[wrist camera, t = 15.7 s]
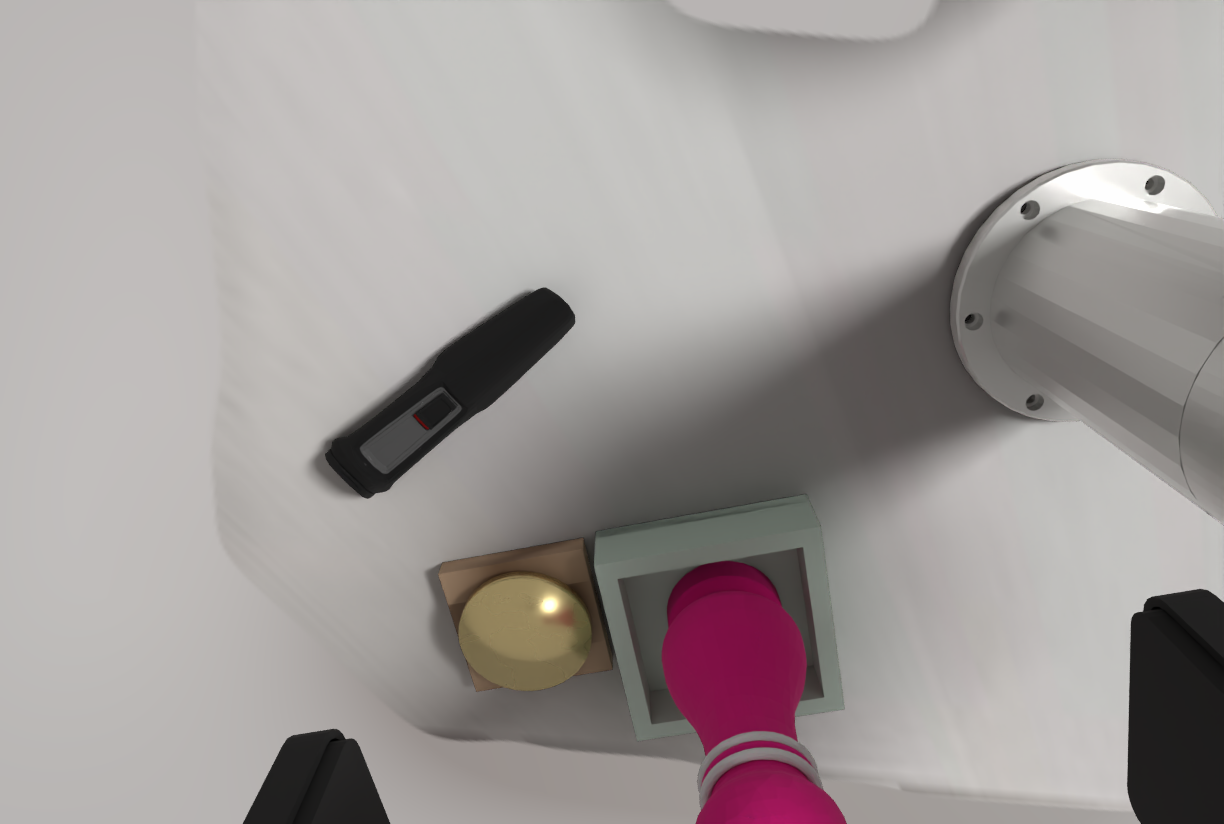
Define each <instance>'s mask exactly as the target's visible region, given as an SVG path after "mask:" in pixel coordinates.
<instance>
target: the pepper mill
mask: <svg viewBox="0 0 1224 824" xmlns="http://www.w3.org/2000/svg"><path fill="white" fill-rule="evenodd" d="M667 619H668V630H667V633H666V635H665V638H664V641H663V647H662V665H663V671H664V676H665V681H666V684H667V687H668V690H669V692H670V694H671V696H672V698H673V700H674V702H675V704H676V706H677V707H678V709H679V710H680V712H681V713H682V714H683V716H684V717H685V718H686V719H687V720H688V722H689V723H690V724H691V725H692V726H693V728H694V729H695V730H696V732H697V733H698V735H699V737H700V739H701V742H702V744H703V746H704V751H705V755H706V757H705V759H704V760H703V762H702V764H701V767H700V769H699V773H698V780H697V781H698V790H699V793H700V807H701V812H700V813H699V815H698V818H697V821H696V824H847V823H846V821H845V818H844V816H843V814H842V812H841V811H840V809H839V808H838V806H837V805H836V803H835V802H834V800H833V799H832V798H831V797H830V796H829V795H828V794H827V793H826V792H825V791H824V790H823V786H822V782H821V780H820V778H819V775H818V770H817V766H816V763H815V760H814V759H813V757H812V755H811V754H810V752H809V751H808V750H807V749H806V748H805V747H804V746H803V745H802V744H801V743H799V742H798V741H797V735H796V729H795V712H796V709H797V707H798V704H799V701H800V699H801V696H802V693H803V690H804V685H805V679H806V669H807V660H806V653H805V648H804V643H803V639H802V636H801V633H800V631H799V629H798V627H797V625H796V623H795V622H794V620H793V619H792V617H791V616H790V615H789V614H788V613H787V612H786V611H785V610H784V609H783V608H782V604H781V601H780V598H779V595H778V592H777V590H776V588H775V586H774V585H773V583H772V582H771V581H770V579H769V578H768V577H767V576H766V575H765V574H764V573H762V572H761V571H760V570H758V569H756V568H754V567H752V566H750V565H747V564H744V563H740V562H734V561H720V562H714V563H708V564H704V565H701V566H698V567H697V568H695V569H694V570H692V571H690V572H689V573H687V574H686V575H685V576H683V577H682V578H681V579H680V580H679V581H678V583H677V584H676V585H675V587H674V588H673V590H672V592H671V594H670V597H669V599H668V604H667Z"/></svg>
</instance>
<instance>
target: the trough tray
mask: <svg viewBox="0 0 1224 824" xmlns="http://www.w3.org/2000/svg"><path fill="white" fill-rule="evenodd" d="M720 561H734V562H740V563H744V564H747V565H750V566H752V567H754V568H756V569H758V570H760V571H761V572H762V573H764V574H765V575H766V576H767V577H768V578H769V579H770V581H771V582H772V583H773V585H774V586H775V588H776V590H777V592H778V595H779V598H780V601H781V604H782V608H783V609H784V610H785V611H786V612H787V613H788V614H789V615H790V616H791V617H792V619H793V620H794V622H795V623H796V625H797V627H798V629H799V631H800V633H801V636H802V639H803V643H804V648H805V653H806V660H807V669H806V679H805V685H804V690H803V693H802V696H801V699H800V701H799V704H798V707H797V709H796V712H795V717H798V716H804V715H811V714H817V713H824V712H830V711H837V710H843V709H845V707H844V699H843V692H842V684H841V676H840V669H839V661H838V653H837V646H836V638H835V630H834V623H833V615H832V607H831V600H830V592H829V584H828V577H827V569H826V561H825V554H824V546H823V538H822V531H821V525H820V523H819V521H818V519H817V517H816V514H815V512H814V510H813V508H812V506H811V503H810V501H809V499H808V497H807V495H806V494H805V495H799V496H794V497H788V498H782V499H777V500H771V501H765V502H760V503H754V504H748V505H743V506H737V507H731V508H726V509H720V510H714V511H709V512H703V513H697V514H692V515H686V516H680V517H675V518H669V519H663V520H658V521H652V522H646V523H641V524H635V525H629V526H624V527H618V528H612V529H607V530H601V531H596V536H595V555H594V568H595V572H596V576H597V580H598V584H599V588H600V592H601V597H602V601H603V605H604V609H605V613H606V617H607V621H608V625H609V629H610V633H611V637H612V641H613V645H614V649H615V653H616V657H617V662H618V666H619V670H620V674H621V678H622V682H623V686H624V690H625V694H626V698H627V702H628V706H629V710H630V714H631V718H632V722H633V726H634V731H635V735H636V739H637V741H643V740H650V739H656V738H663V737H669V736H676V735H682V734H688V733H695V732H696V730H695V729H694V728H693V726H692V725H691V724H690V723H689V722H688V720H687V719H686V718H685V717H684V716H683V714H682V713H681V712H680V710H679V709H678V707H677V706H676V704H675V702H674V700H673V698H672V696H671V694H670V692H669V690H668V687H667V684H666V681H665V676H664V671H663V665H662V647H663V641H664V638H665V635H666V633H667V630H668V619H667V604H668V599H669V597H670V594H671V592H672V590H673V588H674V587H675V585H676V584H677V583H678V581H679V580H680V579H681V578H682V577H683V576H685V575H686V574H687V573H689V572H690V571H692V570H694V569H695V568H697V567H698V566H701V565H704V564H708V563H714V562H720Z"/></svg>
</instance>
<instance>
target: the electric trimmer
mask: <svg viewBox="0 0 1224 824" xmlns="http://www.w3.org/2000/svg"><path fill="white" fill-rule="evenodd" d="M574 324H575V314H574V313H573V311H572V310H571V308H570V307H569V305H568V304H567V303H566V302H565V301H564V300H563V299H562V298H561V297H560V296H558V295H557V294H556V293H554V292H552V291H551V290H549V289H547V288H540V289H538V290H536V291H534V292H533V293H531V294H529V295H528V296H526V297H524V298H523V299H521V300H520V301H518V302H516V303H515V304H513V305H512V306H510V307H509V308H507V309H506V310H504V311H503V312H501V313H500V314H498V315H496V316H495V317H493V318H492V319H490V320H489V321H487V322H486V323H484V324H483V325H481V326H480V327H478V328H477V329H475V330H473V331H472V332H470V333H469V334H467V335H466V336H464V337H463V338H461V339H460V340H459V341H457V342H456V343H454V344H453V345H451V346H450V347H449V348H447V349H446V350H444V351H443V352H442V353H441V354H440V355H439V356H438V358H437V360H436V361H435V363H434V365H433V366H432V368H431V369H430V370H429V371H428V372H427V373H426V374H425V375H424V376H423V377H422V379H421V380H420V381H419V382H418V383H416V384H415V385H414V386H413V387H411V388H410V389H409V390H408V391H406V392H405V393H404V394H403V395H401V396H400V397H399V398H398V399H397V400H395V401H394V402H393V403H392V404H390V405H389V406H388V407H387V408H385V409H384V410H383V411H382V412H380V413H379V414H378V415H377V416H376V417H374V418H373V419H372V420H370V421H369V422H368V423H366V424H365V425H364V426H362V427H361V428H360V429H358V430H357V431H356V432H354V433H353V434H351V435H349V436H347V437H342V438H337V439H335V440H334V441H333V442H332V448H331V449H330V450H329V451H328V452H327V453H326V454H325V457H326V459H327V461H328V463H329V465H330V466H331V467H332V468H333V469H334V470H335V471H336V472H337V474H338V475H339V476H340V477H341V478H342V479H343V480H344V481H345V482H346V483H347V484H349V485H350V486H351V487H352V488H353V489H354V490H355V491H356V492H357V493H359V494H360V495H361V496H362V497H364V498H367V499H368V498H371V497H372V496H373V495H374V494H375V493H380V492H385V491H387V490H389V489H390V488H391V486H392V485H393V483H394V482H395V481H396V480H398V479H399V478H400V477H401V476H402V475H403V474H404V473H406V472H407V471H408V470H409V469H410V468H411V467H412V466H413V465H415V464H416V463H417V462H418V461H419V460H420V459H421V458H423V457H424V456H425V455H426V454H427V453H428V452H430V451H431V450H432V449H433V448H434V447H435V446H437V445H438V444H439V443H440V442H441V441H442V440H443V439H445V438H446V437H447V436H448V435H449V434H450V433H452V432H453V431H454V430H455V429H456V428H458V427H459V426H460V425H462V424H463V423H464V422H466V421H467V420H468V419H470V418H471V417H472V416H474V415H475V414H477V413H479V412H480V411H482V410H484V409H486V408H487V407H489V406H490V405H491V404H492V403H494V402H495V401H496V400H497V399H498V398H499V397H500V396H501V395H502V394H504V393H505V392H506V391H507V390H508V389H509V388H510V387H511V386H512V385H513V384H514V383H515V382H516V381H518V380H519V379H520V378H521V377H522V376H523V375H524V374H525V373H526V372H527V371H528V370H529V369H530V368H531V367H532V366H533V365H534V364H536V363H537V362H538V361H539V360H540V359H541V358H542V357H543V356H544V355H545V354H546V353H547V352H548V351H549V350H550V349H551V348H552V347H554V346H555V345H556V344H557V343H558V342H559V341H560V340H561V339H562V338H563V337H564V335H565V334H566V333H567V332H568V331H569V330H570V329H571V328H572V327H573V326H574ZM336 459H337V460H336Z"/></svg>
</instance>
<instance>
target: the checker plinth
mask: <svg viewBox="0 0 1224 824" xmlns="http://www.w3.org/2000/svg"><path fill="white" fill-rule="evenodd" d="M512 572H536V573H541V574H545V575H548V576H551V577H554V578H556V579H558V580H560V581H562V582H563V583H565V584H566V585H568V586H569V587H570V588H572V589H573V590H574V591H575V592H576V593H577V594H578V595H579V596H580V597H581V599H582V600H583V602H584V603H585V605H586V607H587V609H588V611H589V614H590V617H591V623H592V640H591V648H590V651H589V654H588V656H587V659H586V661H585V662H584V664H583V665H582V667H581V668H580V669H579V670H578V671H577V672H576V673H575V674H574V675H573V676H576V675H582V674H589V673H595V672H601V671H607V670H613V655H612V651H611V647H610V643H609V639H608V635H607V631H606V627H605V623H604V619H603V615H602V611H601V607H600V603H599V599H598V595H597V591H596V587H595V583H594V579H593V575H592V571H591V567H590V563H589V559H588V555H587V551H586V547H585V543H584V539H583V538H579V539H573V540H568V541H562V542H556V543H551V544H545V545H539V546H534V547H528V548H522V549H517V550H511V551H505V552H500V553H494V554H488V555H483V556H477V557H471V558H466V559H460V560H454V561H449V562H443V563H442V565H441V568H440V571H439V573H438V576H439V579H440V582H441V585H442V588H443V591H444V594H445V597H446V600H447V603H448V606H449V609H450V612H451V615H452V619H453V622H454V625H455V628H456V631H457V634H458V631H459V623H460V619H461V616H462V612H463V609H464V607H465V604H466V602H467V601H468V599H469V597H470V596H471V595H472V594H473V592H474V591H475V590H476V589H477V588H478V587H480V586H481V585H482V584H484V583H485V582H487V581H488V580H490V579H492V578H494V577H497V576H500V575H503V574H507V573H512ZM458 637H459V635H458ZM466 662H467V665H468V668H469V671H470V674H471V677H472V680H473V683H474V686H475V689H476V692H478V691H484V690H490V689H496V688H503V687H502V686H499V685H497V684H495V683H492V682H490V681H489V680H487V679H485V678H484V677H483V676H481V675H480V674H479V673H478V672H476V671H475V670H474V669H473V668H472V666H471V665H470V664H469V663H468V661H467V660H466Z"/></svg>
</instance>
